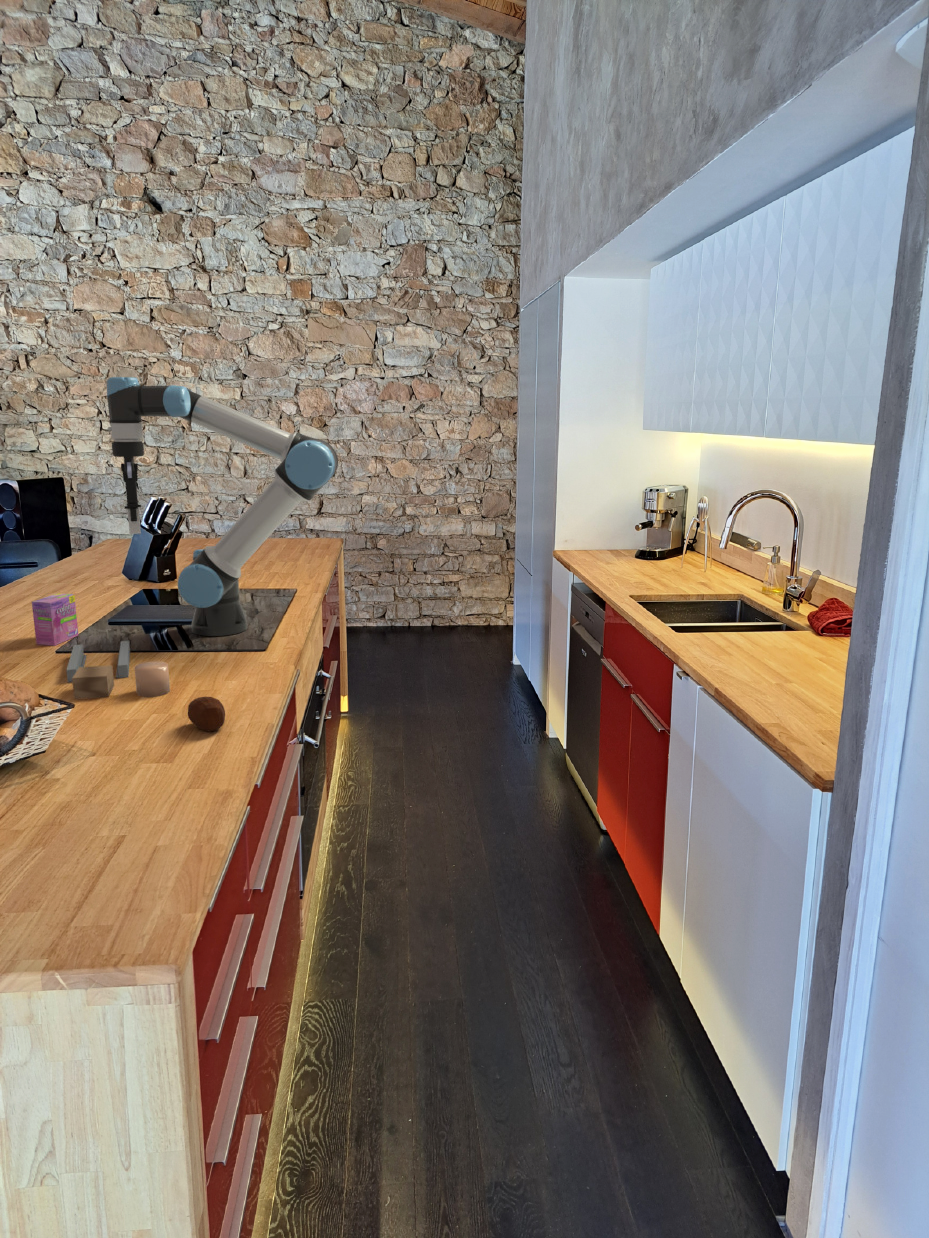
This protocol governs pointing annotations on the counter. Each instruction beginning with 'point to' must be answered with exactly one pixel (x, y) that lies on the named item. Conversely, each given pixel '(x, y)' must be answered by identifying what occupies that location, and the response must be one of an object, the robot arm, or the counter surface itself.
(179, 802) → the counter surface
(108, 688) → the block
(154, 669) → the marshmallow
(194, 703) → the potato
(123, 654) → the chute
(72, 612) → the box
